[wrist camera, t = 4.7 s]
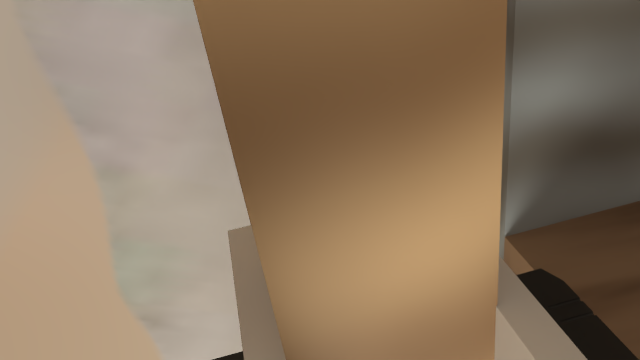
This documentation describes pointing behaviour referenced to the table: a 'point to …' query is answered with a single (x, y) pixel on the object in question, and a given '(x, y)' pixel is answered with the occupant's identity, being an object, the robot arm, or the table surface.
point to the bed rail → (369, 167)
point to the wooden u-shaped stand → (575, 152)
